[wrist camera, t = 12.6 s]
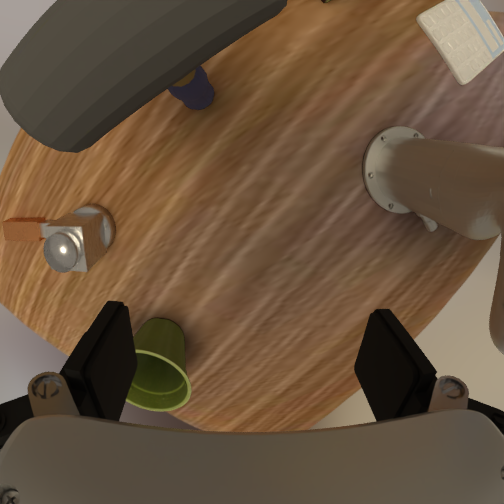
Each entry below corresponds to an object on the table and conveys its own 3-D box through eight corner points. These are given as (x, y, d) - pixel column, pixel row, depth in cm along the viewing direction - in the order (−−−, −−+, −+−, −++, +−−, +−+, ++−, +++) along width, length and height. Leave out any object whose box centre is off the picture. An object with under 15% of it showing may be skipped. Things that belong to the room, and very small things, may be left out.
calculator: (411, 18, 31) (417, 15, 29) (466, -11, 27) (472, -13, 25) (458, 87, 35) (465, 87, 33) (504, 47, 31) (510, 46, 29)
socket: (103, 212, 36) (75, 230, 29) (106, 252, 38) (81, 277, 31) (69, 212, 36) (37, 230, 28) (73, 250, 38) (45, 274, 30)
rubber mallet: (176, 147, 36) (29, 178, 8) (143, 104, 34) (-32, 58, 6) (257, 91, 34) (323, -30, 6) (223, 48, 32) (206, -121, 4)
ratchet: (114, 203, 38) (97, 213, 33) (117, 251, 41) (103, 267, 36) (9, 206, 37) (-12, 215, 32) (15, 246, 39) (-5, 259, 34)
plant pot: (139, 291, 43) (116, 335, 33) (210, 324, 46) (205, 374, 35) (119, 344, 47) (98, 390, 36) (182, 372, 49) (173, 421, 39)
